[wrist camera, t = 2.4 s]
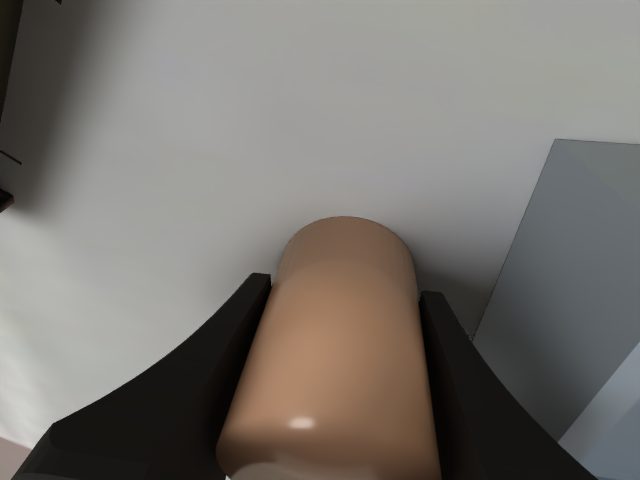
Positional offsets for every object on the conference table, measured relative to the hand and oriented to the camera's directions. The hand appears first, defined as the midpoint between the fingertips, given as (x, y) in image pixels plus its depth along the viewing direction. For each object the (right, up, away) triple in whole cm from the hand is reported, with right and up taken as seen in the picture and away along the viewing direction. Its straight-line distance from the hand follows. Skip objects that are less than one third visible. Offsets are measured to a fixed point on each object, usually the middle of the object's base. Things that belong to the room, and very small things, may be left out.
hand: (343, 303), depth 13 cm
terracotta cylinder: (0, +1, +1) cm, 2 cm away
